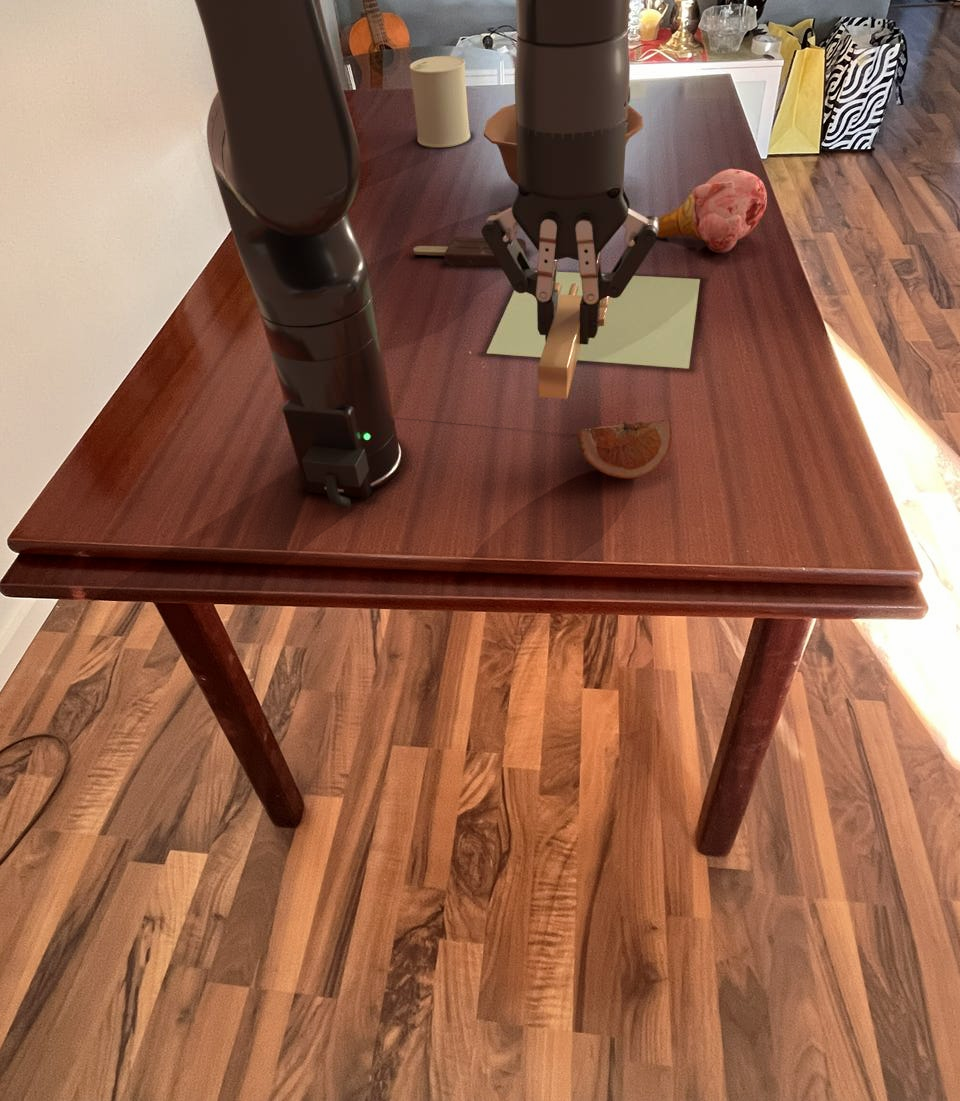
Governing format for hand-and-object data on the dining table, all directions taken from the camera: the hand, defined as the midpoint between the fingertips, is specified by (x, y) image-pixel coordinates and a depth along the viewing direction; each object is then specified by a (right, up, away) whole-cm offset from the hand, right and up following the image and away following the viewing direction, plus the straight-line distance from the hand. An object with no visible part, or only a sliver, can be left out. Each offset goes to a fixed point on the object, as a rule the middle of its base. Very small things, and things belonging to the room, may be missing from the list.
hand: (568, 337), depth 67 cm
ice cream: (+22, +22, +38) cm, 49 cm away
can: (-13, +54, +74) cm, 92 cm away
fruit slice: (+6, -10, +8) cm, 14 cm away
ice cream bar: (-9, +21, +41) cm, 47 cm away
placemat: (+7, +10, +28) cm, 30 cm away
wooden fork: (0, 0, 0) cm, 1 cm away
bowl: (+5, +34, +52) cm, 63 cm away
